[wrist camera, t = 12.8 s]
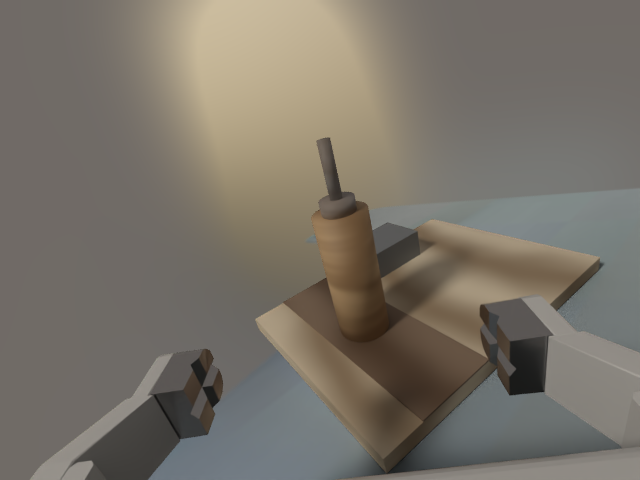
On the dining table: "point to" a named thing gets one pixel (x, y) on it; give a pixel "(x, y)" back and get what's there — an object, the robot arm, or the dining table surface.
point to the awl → (349, 257)
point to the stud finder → (395, 246)
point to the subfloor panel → (418, 332)
